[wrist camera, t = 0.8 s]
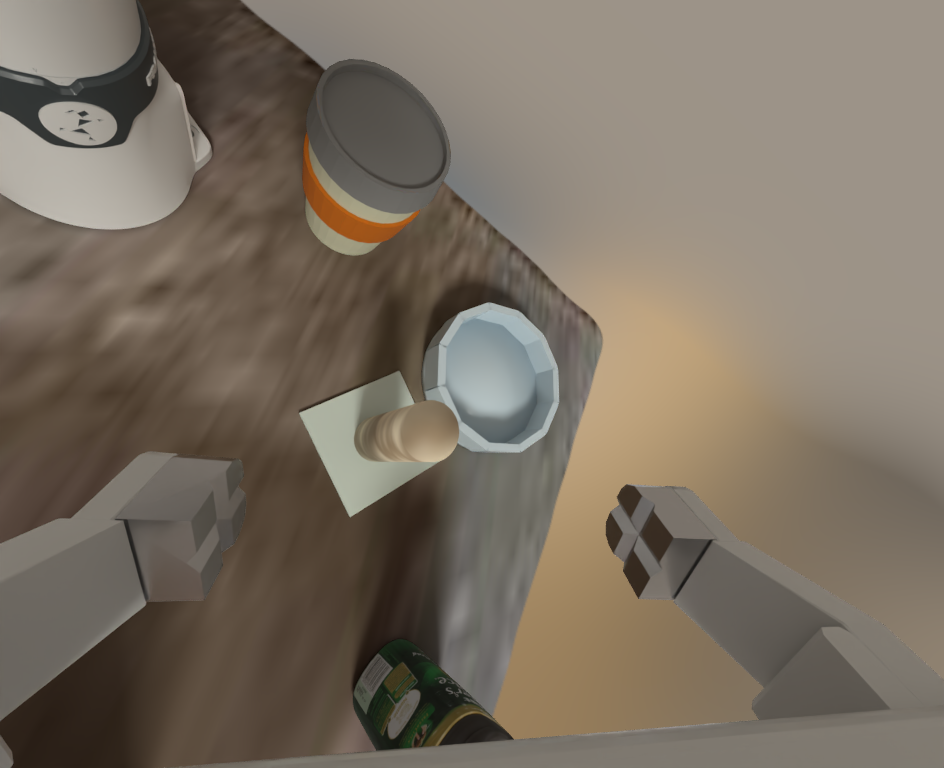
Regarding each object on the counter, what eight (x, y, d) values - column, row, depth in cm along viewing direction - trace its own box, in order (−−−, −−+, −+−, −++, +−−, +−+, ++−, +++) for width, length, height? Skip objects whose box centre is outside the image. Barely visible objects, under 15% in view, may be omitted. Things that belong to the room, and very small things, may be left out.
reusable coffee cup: (361, 291, 44) (412, 225, 32) (261, 212, 40) (276, 100, 27) (412, 225, 50) (473, 146, 37) (329, 149, 45) (367, 32, 33)
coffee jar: (449, 675, 42) (575, 798, 27) (399, 754, 38) (514, 951, 23) (395, 620, 40) (498, 720, 25) (336, 697, 36) (415, 873, 21)
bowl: (396, 340, 46) (411, 329, 42) (505, 300, 56) (524, 289, 53) (460, 479, 47) (480, 481, 43) (554, 415, 58) (576, 412, 54)
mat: (298, 413, 38) (299, 412, 38) (398, 371, 45) (399, 370, 45) (349, 516, 39) (350, 517, 39) (439, 460, 46) (440, 460, 46)
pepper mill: (346, 428, 40) (393, 415, 29) (386, 409, 43) (443, 390, 32) (365, 470, 41) (420, 473, 29) (404, 448, 44) (468, 444, 32)
